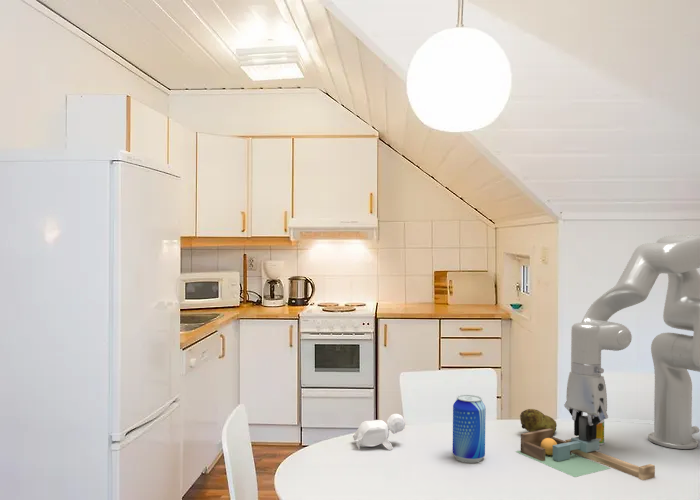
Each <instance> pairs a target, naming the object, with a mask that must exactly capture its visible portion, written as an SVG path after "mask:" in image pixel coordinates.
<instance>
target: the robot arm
mask: <svg viewBox="0 0 700 500" xmlns="http://www.w3.org/2000/svg"><path fill="white" fill-rule="evenodd" d="M698 269H700V234H686V235H683V234H679V235H677V234H675V235H666V236H662V237H660V238H659V239H657V240H656V242H651V243H650V242H649V243H648V242H647V243H643V244H640V245H638V246H637V247H636V248H635V250H634V251H633V252H632V254H631V256H630V259H629V261H628V262H627V264H626V266H625V268H624V269H623V271H622V273H621V275H620V277H619V279H618V281H617V282H616V284H615V285H614V286H613V287H612V288H610V289H608V290H607V291H606V292H604V293H603V294H602V295H600V296H599V297H598V298H597V299H596V300H595V301H593V303H592V304H591V305H590V306H589V307H588V309H587V311H586V312H585V314H584V316H583V318H582V321H581V322H576V323H574V324H573V325H572V326H571V333H570V334H571V337H570V340H571V345H570V350H571V352H570V372H569V373H568V378H567V382H566V383H567V384H566V396H565V397H566V398H565V399H566V400H565V402H564V404H563V406H564V407H565V409H566V410H567V411H568V413H569V414H570V415H571V419H572V420H573V422H574V423H573V433H574V434H573V435H574V436H575V437H579V416H584V413H586V415H588V424H589V425H587V426H586V439H587V440H593V439H596V435H597V425H598V424H599V422H601V421H602V420H604V421H605V420H607V419H608V418H609V415H608V413H607V411H608V396H607V395H608V394H607V386H606V385H607V384H606V380H605V377H604V375H602V374H603V373H604V371H605V370H604V368H603V367H602V351H603V350H605V351H613V352H615V351H616V352H618V351H622V350H625V349H626V348H628V347H629V346H630V344H631V342H632V338H633V335H632V332H631V331H630V329H629V328H628V327H627V326H626V325H624V324H622V323H619V322H613V321H608V320H610V318H611V317H612V316H614V315H615V314H616V313H618V312H619V311H621V310H624V309H626V308H630V307H632V306H635V305H638V304H640V303H643V302H645V301H646V300H647V298H649V295H650V292H651V290H652V289H653V288H654V284H655V283H656V281H657V280H658V278H659V275H660V274H667V277H668V283H667V290H666V296H665V302H664V308H663V314H662V318H663V322H664V323H665V325H667V326H668V327H671V328H672V329H673V328H674V329H677V330H683V331H691V332H693V335H688V334H683V333H678V332H677V333H676V332H662V333H660V334H657V335H656V336H655V337H654V338H653V340H651V345H650V352H651V353H650V354H651V357H652V362H653V369H654V370H653V371H654V396H653V397H654V400H653V401H654V405H653V406H654V411H653V413H654V414H653V415H654V417H653V421H654V422H653V431H652V432H650V433H648V435H647V438H648V440H649V441H650V442H652V443H653V444H655V445H658V446H661V447H665V448H670V449H679V450H690V449H691V450H693V449H696V448H697V447H698V445H699V443H698V442H699V441H698V440H697V439H695V438H694V437H693V435H694V434H698V433H699V432H700V428H699V427H698V426H696V425H695V426H693V425H692V424H693V422H692V421H693V420H692V418H693V382H692V378H691V375H690V373H689V371H693V372H698V373H700V272H699V271H698ZM598 412H599V413H600V415H599V416H598ZM593 417H594V418H593Z"/></svg>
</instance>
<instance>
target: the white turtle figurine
mask: <svg viewBox="0 0 700 500" xmlns="http://www.w3.org/2000/svg"><path fill="white" fill-rule="evenodd" d="M405 428H406V421H405V419H404V416H403V415H402V414H399V413H392V414H391V415H390V416H388V418H387V421H386V422H385V421H384V420H381V419H373V420H365V421H362V422H361V423H360V424H359V426H358V428H357V430H356V431H355V432H354V433H352V435H351V436H352V438H353V440H354V443H355V445H356V447H357V449H358V451H360V450H361V447H362V448H363V447H376V446H378V445H381V444H382V445H383V446H384V447H385V448H386V449H387V450H388V451H393V450H394V447H393V445H392V443H391V442H390V441H389V440H388V439H389V437H390V432H391V433H392V434H397V433H400V432H402V431H403V430H404V429H405Z"/></svg>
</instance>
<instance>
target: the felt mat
mask: <svg viewBox="0 0 700 500" xmlns="http://www.w3.org/2000/svg"><path fill="white" fill-rule="evenodd" d="M515 453H518V454H519V455H522V456H524V457H527V458H529V459H532V460H533V461H536V462H539V463H541V464H543V465H545V466H548V467H550V468H552V469H554V470H557V471H559V472H562V473H564V474H566V475H568V476H571V477H573V478H577V477H582V476H585V475H590V474H593V473H594V474H595V473H598V472H603V471H605V470H607V471H608V470H609V469H611V467H609V466H606V465H603V464H601V463H598V462H596V461H593V460H590V459H588V458H585V457H583V456H580V455H577V454H575V453H572V455H570V459H566V460H562V461H556V460H554V459H553V455H547V454H545V461H540V460H538V459H536V458H533V457H531V456H528V455H526V454H524V453H521V450H517V451H515Z"/></svg>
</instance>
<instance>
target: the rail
mask: <svg viewBox="0 0 700 500" xmlns="http://www.w3.org/2000/svg"><path fill="white" fill-rule="evenodd" d="M564 441H566V442H571V438H569V439H565V440H564ZM572 454H575V455H578V456H580V457H583V458H585V459H588V460H591V461H593V462H596V463H598V464H601V465H604V466H606V467H609V468H612V469H615V470H617V471H619V472H622V473H625V474H627V475H630V476H632V477H635V478H638V479H639V480H642V481H646V480H647V481H648V480H649V479H654V478H656V475H655V474H656V466H655V464H652V463H649V464H645V465H641V466H639V465H635V464H633V463H630V462H627V461H624V460H622V459H619V458H616V457H615V456H611V455H609V454H606V453H603V452H601V451H599V450H597V451H592V452H587V453H586V452H583V451H580V450H578V449H576V450H572Z"/></svg>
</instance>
